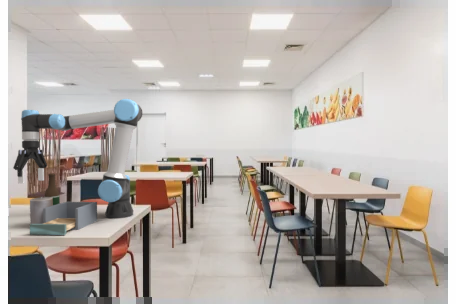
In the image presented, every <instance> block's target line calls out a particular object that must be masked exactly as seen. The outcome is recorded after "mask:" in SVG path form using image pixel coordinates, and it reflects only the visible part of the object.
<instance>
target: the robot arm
mask: <svg viewBox="0 0 456 304" xmlns="http://www.w3.org/2000/svg"><path fill="white" fill-rule="evenodd" d="M142 117H143V109H142V107H141V106H140V105H139V104H138V103H137V102H136V101H135V100H132V99H130V98H123V99H120V100H118V101H117V102H116V103H115V105H114V106H113V109H110V110H102V111H101V110H100V111H96V112H94V111H93V112H87V113H80V114H79V113H78V114H72V115H66V116H63V115H62V114H60V113H52V114H51V113H50V114H47V113H46V114H45V113H43V114H42V113H39V111H38V110H36V109H35V110H34V109H23V110H21V118H20V120H21V140H22V141H21V147H22V149H18V151H17V152H18V153H17V157H16V159H15V162H14V165H13V170H15V171H17V174H16V175H17V180H18V181H17V183H18V184H25V169H24V168H25V167H26V165H27V163H28V161H29V160H31V159H32V160H34V163H36V165H37V166H38V168H37V175H38V176H37V177H38V178H37V180H38V181H45V169H47V167H48V163H47V161H46V159H45V156H44V152H43V149H39V148H40V146H41V145H40V141H39V140H40V130H56V131H57V130H58V131H62V132H67V131H69V130H74V129H82V128H88V127H96V126H104V125H110V124H111V125H112V124H114V125H115V132H114V136H113V139H112V140H113V141H112V146H111V152H110V157H109V161H108V166H107V171H106V172H104V173H103V174H102V180H101V183H100V184H99V185H98V189H97V194H98V196H99V198H100V199H101V200H102V201H104V202H107V206H106V210H105V214H104V217H105V218H108V219H121V218H128V217H131V216H134V208H133V206H132V204H131V177H130V175H128V174H125V172H126V168H127V163H128V157H129V152H130V147H131V143H132V142H131V141H132V137H133V131H134V130H135V129H136V128H137V127H138V122H139V121H141V119H142Z"/></svg>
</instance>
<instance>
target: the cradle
mask: <svg viewBox="0 0 456 304" xmlns="http://www.w3.org/2000/svg"><path fill="white" fill-rule="evenodd" d="M57 218H76V227H74V228H71V229H69V230H68V231H79V230H81V229H83V228H85V227H87V226H89V225H91V224H93V223H96V222H97V221H98V201H65V202H61V203H60V204H57V205H53V206H50V207H46V208H43V223H46V222H49V221H51V220H54V219H57Z"/></svg>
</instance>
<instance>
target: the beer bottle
mask: <svg viewBox="0 0 456 304" xmlns="http://www.w3.org/2000/svg"><path fill="white" fill-rule="evenodd" d="M56 184H57V183H56V173H48V185H47V188H46V190H45V192H44V197H52V198H53V205H57V204H60V202H61V201H60V191H59V189H58V187H57V186H56Z"/></svg>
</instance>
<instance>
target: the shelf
mask: <svg viewBox="0 0 456 304" xmlns="http://www.w3.org/2000/svg"><path fill="white" fill-rule="evenodd" d="M74 227H76V218H57V219H54V220H51V221H49V222H46V223H43V224H29V235H38V236H39V235H44V236H45V235H48V236H49V235H53V236H55V235H57V236H58V235H59V236H60V235H61V236H62V235H63V236H65V235H67V231H70V230H69V229H71V228H74Z"/></svg>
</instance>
